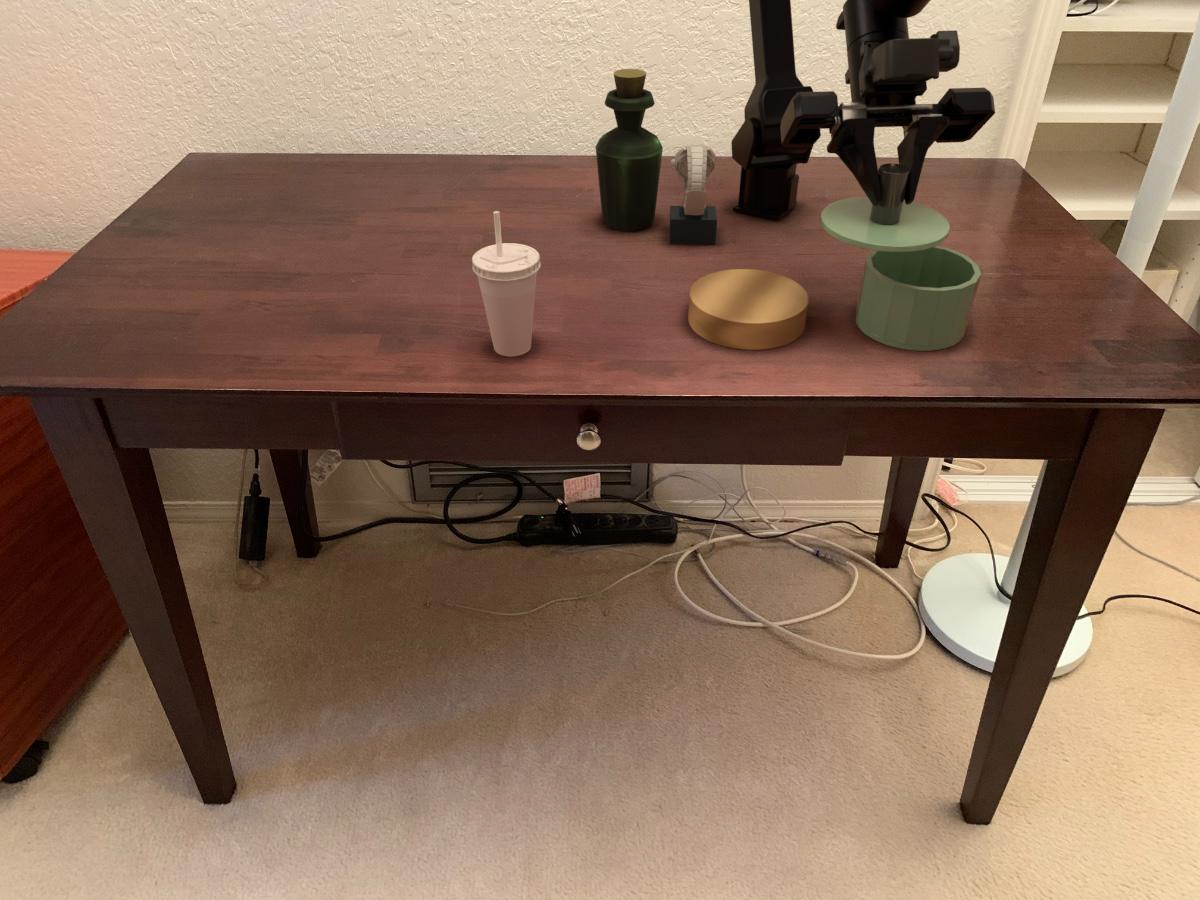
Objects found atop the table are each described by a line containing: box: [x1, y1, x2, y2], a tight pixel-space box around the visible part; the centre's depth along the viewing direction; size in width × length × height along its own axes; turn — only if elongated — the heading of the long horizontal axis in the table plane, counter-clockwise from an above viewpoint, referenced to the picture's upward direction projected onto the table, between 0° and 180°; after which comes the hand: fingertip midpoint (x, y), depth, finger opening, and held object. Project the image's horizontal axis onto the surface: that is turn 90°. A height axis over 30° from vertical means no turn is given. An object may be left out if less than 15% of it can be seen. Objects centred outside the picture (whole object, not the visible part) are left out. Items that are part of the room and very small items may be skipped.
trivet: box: [687, 268, 809, 351], centre depth 93 cm, size 12×12×3 cm
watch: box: [668, 143, 718, 246], centre depth 108 cm, size 6×8×11 cm
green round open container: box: [855, 245, 982, 352], centre depth 91 cm, size 11×11×7 cm
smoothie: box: [471, 210, 542, 357], centre depth 86 cm, size 6×6×14 cm
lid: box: [819, 162, 951, 252], centre depth 86 cm, size 12×12×6 cm
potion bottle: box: [595, 68, 664, 232], centre depth 110 cm, size 8×8×18 cm
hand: (893, 203), depth 85 cm, fingers closed on lid, 3 cm apart
